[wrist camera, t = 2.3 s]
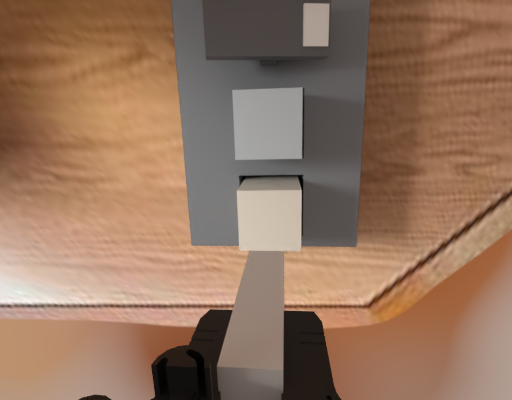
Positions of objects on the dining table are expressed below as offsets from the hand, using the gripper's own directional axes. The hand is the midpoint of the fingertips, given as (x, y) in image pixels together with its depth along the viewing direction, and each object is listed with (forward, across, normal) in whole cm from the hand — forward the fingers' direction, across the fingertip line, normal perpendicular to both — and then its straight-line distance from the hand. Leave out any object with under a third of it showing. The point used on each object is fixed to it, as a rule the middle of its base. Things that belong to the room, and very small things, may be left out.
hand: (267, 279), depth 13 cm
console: (+17, 0, +9) cm, 19 cm away
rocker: (+9, 0, +13) cm, 16 cm away
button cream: (+14, 0, 0) cm, 14 cm away
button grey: (+14, 0, +7) cm, 15 cm away
